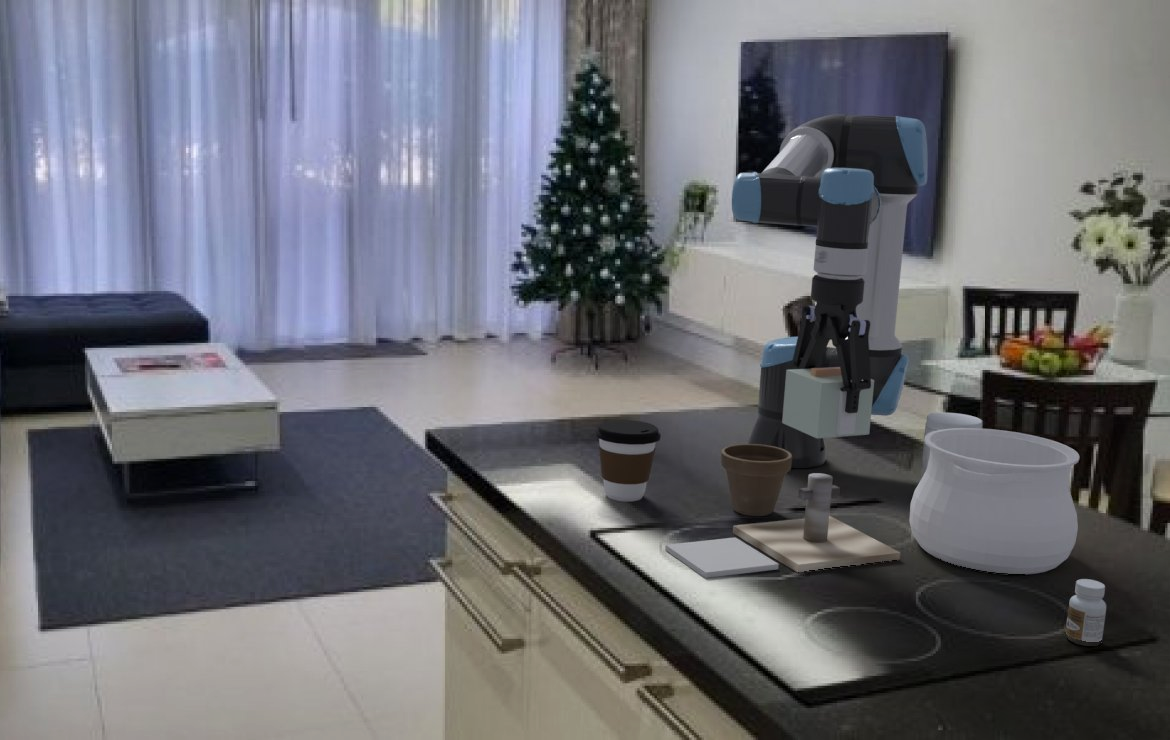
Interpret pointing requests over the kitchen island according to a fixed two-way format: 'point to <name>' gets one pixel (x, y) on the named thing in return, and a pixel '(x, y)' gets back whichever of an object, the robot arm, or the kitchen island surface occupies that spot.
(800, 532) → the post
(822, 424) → the cube with orange handle
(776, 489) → the flower pot
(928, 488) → the pot
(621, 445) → the coffee cup
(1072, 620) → the pill bottle
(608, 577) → the kitchen island surface
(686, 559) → the pad
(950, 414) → the supplement tub
